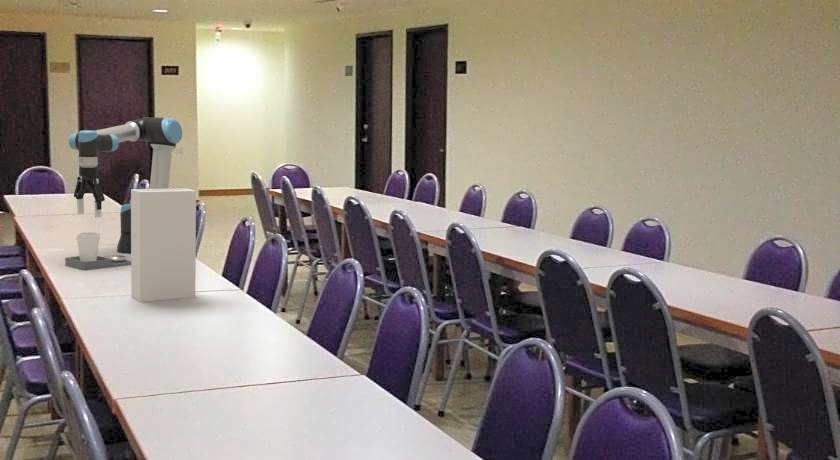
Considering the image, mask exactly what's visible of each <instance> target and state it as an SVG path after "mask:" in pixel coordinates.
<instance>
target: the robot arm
mask: <svg viewBox="0 0 840 460" xmlns="http://www.w3.org/2000/svg"><path fill="white" fill-rule="evenodd" d="M182 138H183V128H182V126H181V124H180V122H179V121H178V120H176V119H175V118H170V117H152V116H151V117H150V116H149V117H148V116H146V117H143V118H138V119H134V120H133V119H132V120H129V121H126V123H125V124H121V125H116V126H111V127H107V128H102V129H96V130H87V129H86V130H80V131H79V132H75V133H72V134H71V135H70V136H69V138H68V144H69V147H70V148H71V149H72V150H76V151H78V164H79V166H80V167H79V168H78V169H79V170H78V173H79V176H77V178H76V179H77V181H76V184H75V185H76V186H75V189H74V192H73V197H74V198H75V199H76V207H77V208H76V209H77V215H84V214H85V201H84V196H85V194H86V192H87V190H88V189H89V190H90V191H91V194H92V195H93V198H94V218H102V203H103V202H105V200H106V199H105V196H104V193H103V188H102V185H101V184H102V183H101V179H100V178H96V177H97V176H98V175H99V171H98V168H99V167H98V165H99V163H98V153H101V152H102V153H111V152H116V150H118V148H119V146H120V145H119V144H120V143H122V142H123V143H124V142H127V141H129V142H137V141H138V142H140V141H141V142H150V146H151V148H152V149H153V150H152V159H151V170H150V171H151V172H150V182H149V189H170V188H169V185H170V175H171V167H172V166H171V164H172V156H173V151H174V150H175V149H176V147H177V144H178V143H180V141H181V140H182ZM119 215H120V238H119V240H118V243H117V245H116V251H117V252H118V253H123V254H124V253H125V254H131V203H126V204H122V205H121V207H120V214H119Z"/></svg>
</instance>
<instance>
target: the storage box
mask: <svg viewBox="0 0 840 460" xmlns="http://www.w3.org/2000/svg"><path fill="white" fill-rule="evenodd" d="M130 204H131V253H130V259H131V260H130V261H131V265H130V267H131V268H130V271H131V272H130V276H131V277H130V278H131V281H130V282H131V284H130V285H131V288H130V291H131V292H130V293H131V294H130V295H131V296H130V297H131V298H132V299H134V300H137V301H138V302H139V303H143V302H154V301H155V302H157V301H165V300H166V301H167V300H178V299H192V298H196V267H197V266H196V263H197V262H196V259H197V258H196V257H197V256H196V253H197V252H196V245H197V243H196V242H197V236H196V235H197V228H196V227H197V226H196V225H197V191H196V190H195V189H190V188H185V187H184V188H183V187H182V188H168V189H150V188H135V189H133V188H131V189H130Z"/></svg>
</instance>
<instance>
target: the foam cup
mask: <svg viewBox="0 0 840 460" xmlns="http://www.w3.org/2000/svg"><path fill="white" fill-rule="evenodd" d="M100 235H101V234H100V233H99V232H78V233H76V240H77V247H78V249H77V250H78V256H80V261H83V262H88V261H96V260H97V256H98V253H99V245H100V239H101V238H100V237H101V236H100Z"/></svg>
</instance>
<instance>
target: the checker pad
mask: <svg viewBox="0 0 840 460" xmlns="http://www.w3.org/2000/svg"><path fill="white" fill-rule="evenodd" d="M104 257H105V258H109V259H112V262H122V261H125V260H126V256H125V255H118V254H117V255H115V254H114V255H113V254H111V255H110V254H109V255H105V256H104Z"/></svg>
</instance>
